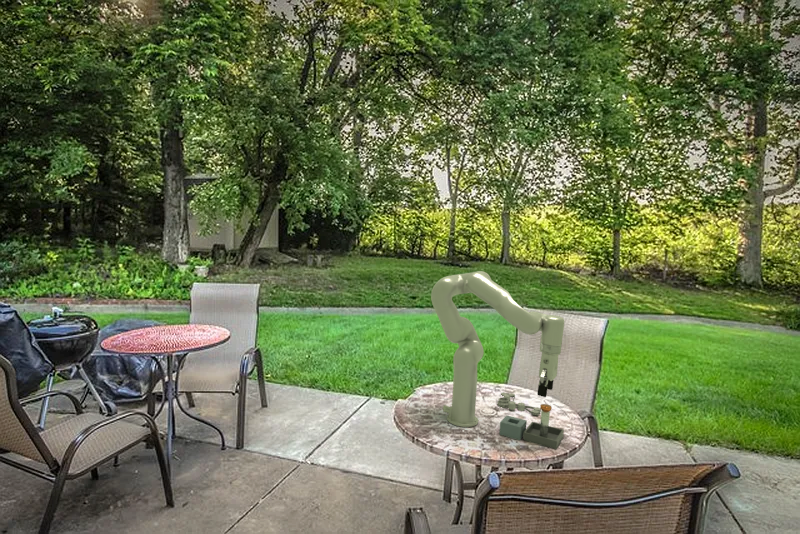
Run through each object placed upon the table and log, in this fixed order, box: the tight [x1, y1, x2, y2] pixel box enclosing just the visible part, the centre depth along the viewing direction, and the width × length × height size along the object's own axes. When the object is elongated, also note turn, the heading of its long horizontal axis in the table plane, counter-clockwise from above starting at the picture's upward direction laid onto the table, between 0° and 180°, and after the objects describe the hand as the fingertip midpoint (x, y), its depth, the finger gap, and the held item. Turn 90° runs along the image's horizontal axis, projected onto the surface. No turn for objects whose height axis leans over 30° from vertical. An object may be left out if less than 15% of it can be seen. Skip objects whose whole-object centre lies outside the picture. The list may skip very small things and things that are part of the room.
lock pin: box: [539, 403, 552, 438], centre depth 176 cm, size 4×4×12 cm
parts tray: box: [522, 421, 565, 450], centre depth 176 cm, size 12×12×3 cm
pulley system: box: [496, 392, 541, 416], centre depth 209 cm, size 27×5×15 cm
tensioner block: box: [498, 415, 528, 441], centre depth 179 cm, size 8×8×5 cm
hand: (544, 392), depth 175 cm, fingers open, 9 cm apart
